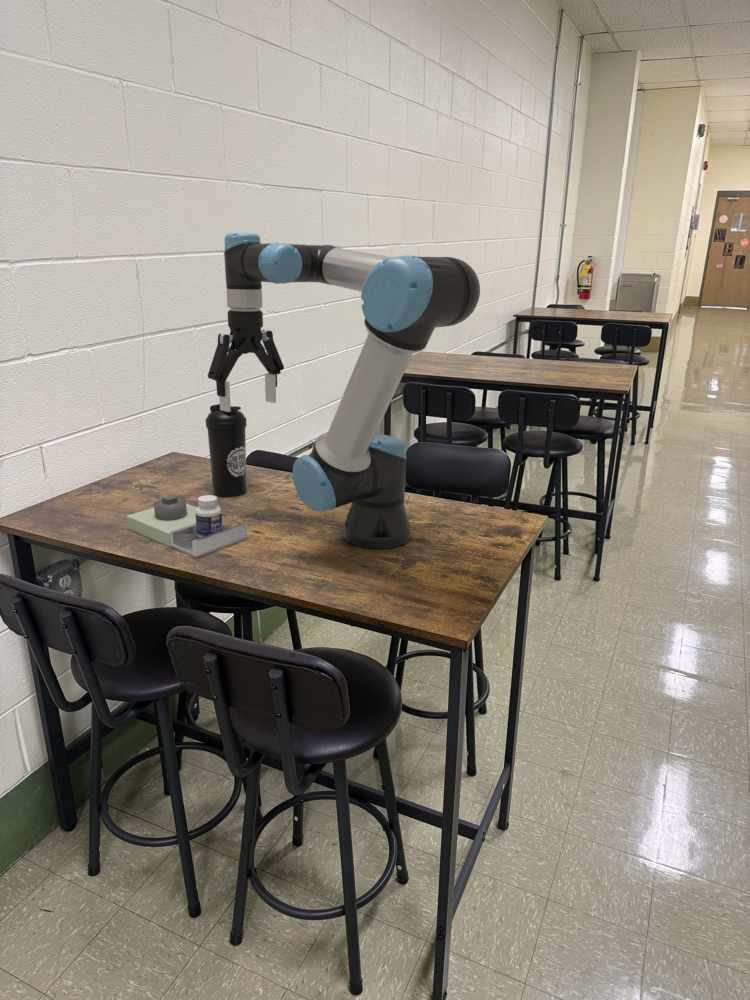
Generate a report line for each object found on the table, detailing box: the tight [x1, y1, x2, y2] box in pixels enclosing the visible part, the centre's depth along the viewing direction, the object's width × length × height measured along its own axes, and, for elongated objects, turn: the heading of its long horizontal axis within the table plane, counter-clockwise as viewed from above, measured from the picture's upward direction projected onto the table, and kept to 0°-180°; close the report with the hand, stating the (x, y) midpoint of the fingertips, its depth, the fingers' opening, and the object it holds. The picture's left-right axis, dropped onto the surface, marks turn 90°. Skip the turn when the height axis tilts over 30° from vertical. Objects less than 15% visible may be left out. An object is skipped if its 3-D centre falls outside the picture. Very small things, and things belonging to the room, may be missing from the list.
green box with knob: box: [125, 494, 198, 548], centre depth 155 cm, size 16×14×7 cm
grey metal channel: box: [170, 514, 249, 559], centre depth 149 cm, size 8×14×4 cm, turn 142°
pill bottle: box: [195, 494, 222, 539], centre depth 148 cm, size 5×5×10 cm
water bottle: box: [205, 403, 247, 498], centre depth 177 cm, size 10×10×23 cm
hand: (248, 406), depth 156 cm, fingers open, 13 cm apart
